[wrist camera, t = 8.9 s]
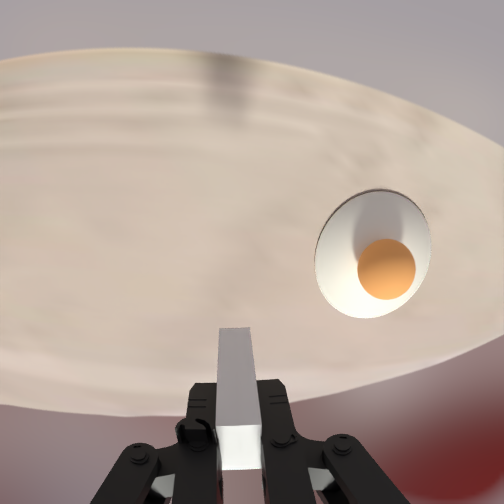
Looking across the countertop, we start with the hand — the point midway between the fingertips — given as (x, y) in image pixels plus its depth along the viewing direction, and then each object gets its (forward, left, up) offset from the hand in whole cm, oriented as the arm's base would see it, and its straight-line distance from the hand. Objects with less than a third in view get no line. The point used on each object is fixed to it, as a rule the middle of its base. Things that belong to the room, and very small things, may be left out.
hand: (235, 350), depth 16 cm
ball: (0, +14, -11) cm, 18 cm away
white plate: (0, +14, -14) cm, 20 cm away
